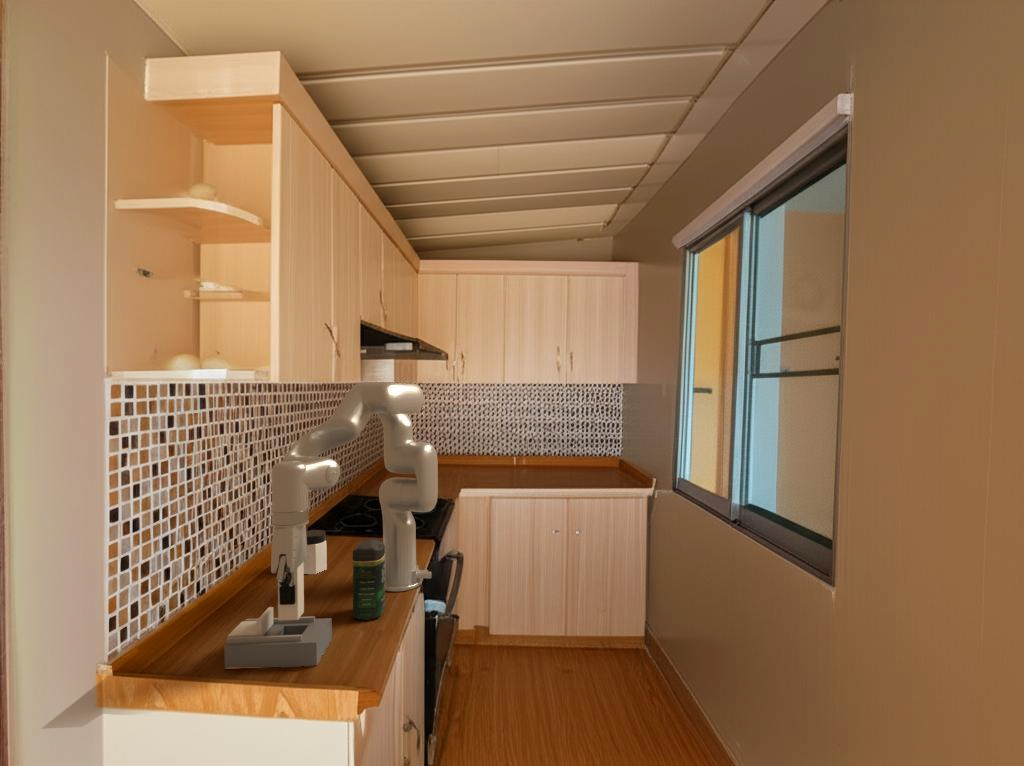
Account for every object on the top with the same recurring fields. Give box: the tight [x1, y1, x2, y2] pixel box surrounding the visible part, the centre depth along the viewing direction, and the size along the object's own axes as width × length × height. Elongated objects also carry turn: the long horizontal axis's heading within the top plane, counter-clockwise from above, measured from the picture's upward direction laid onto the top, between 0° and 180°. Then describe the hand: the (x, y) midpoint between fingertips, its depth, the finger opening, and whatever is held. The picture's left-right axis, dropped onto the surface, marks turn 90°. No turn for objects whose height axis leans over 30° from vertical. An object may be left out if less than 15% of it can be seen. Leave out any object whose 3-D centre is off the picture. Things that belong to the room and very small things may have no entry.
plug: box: [277, 562, 305, 621], centre depth 122 cm, size 4×4×14 cm
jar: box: [304, 529, 328, 575], centre depth 176 cm, size 9×8×12 cm
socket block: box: [223, 615, 333, 669], centre depth 122 cm, size 19×12×6 cm, turn 93°
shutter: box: [227, 606, 274, 638], centre depth 122 cm, size 7×7×4 cm
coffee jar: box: [351, 539, 386, 621], centre depth 143 cm, size 10×8×19 cm
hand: (291, 598), depth 122 cm, fingers closed on plug, 4 cm apart
